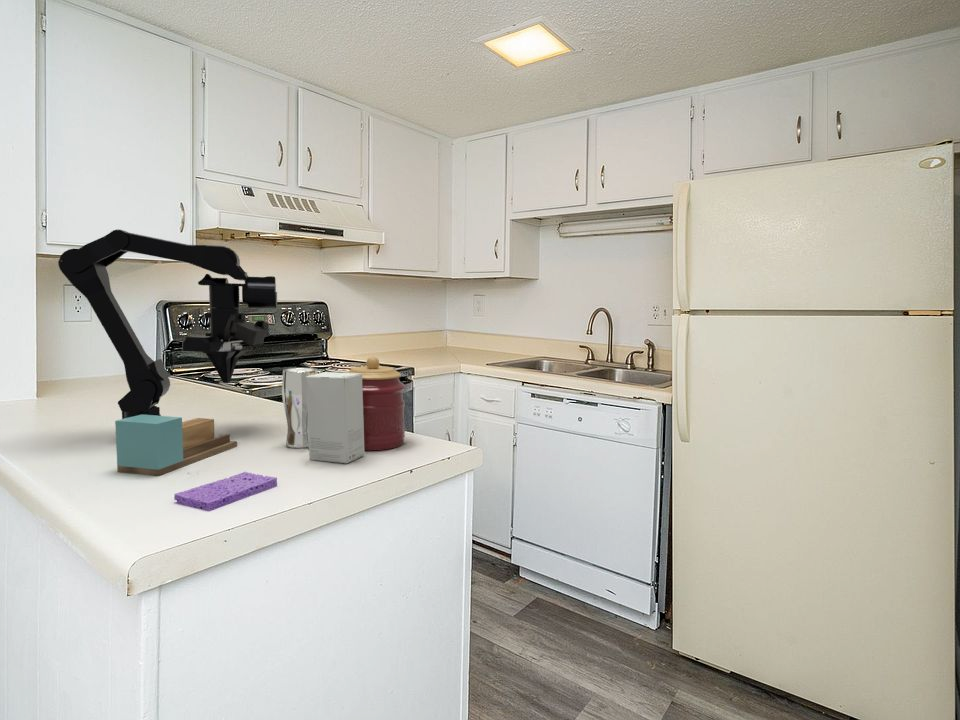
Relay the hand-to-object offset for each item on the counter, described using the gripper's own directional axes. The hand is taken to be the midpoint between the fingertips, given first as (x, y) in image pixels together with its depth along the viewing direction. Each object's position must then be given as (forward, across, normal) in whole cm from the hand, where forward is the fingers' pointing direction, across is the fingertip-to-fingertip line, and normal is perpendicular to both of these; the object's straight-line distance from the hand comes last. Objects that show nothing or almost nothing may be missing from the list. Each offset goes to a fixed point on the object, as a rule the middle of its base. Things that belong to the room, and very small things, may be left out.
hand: (226, 382), depth 121 cm
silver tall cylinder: (+11, -3, -19) cm, 22 cm away
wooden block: (+10, -19, -4) cm, 22 cm away
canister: (+11, +2, -32) cm, 34 cm away
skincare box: (+11, -10, -30) cm, 34 cm away
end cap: (+10, -25, -4) cm, 27 cm away
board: (+11, -18, -4) cm, 21 cm away
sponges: (+12, -32, -24) cm, 42 cm away
